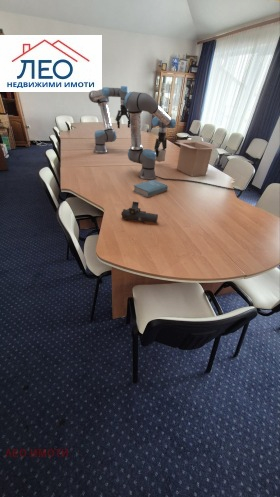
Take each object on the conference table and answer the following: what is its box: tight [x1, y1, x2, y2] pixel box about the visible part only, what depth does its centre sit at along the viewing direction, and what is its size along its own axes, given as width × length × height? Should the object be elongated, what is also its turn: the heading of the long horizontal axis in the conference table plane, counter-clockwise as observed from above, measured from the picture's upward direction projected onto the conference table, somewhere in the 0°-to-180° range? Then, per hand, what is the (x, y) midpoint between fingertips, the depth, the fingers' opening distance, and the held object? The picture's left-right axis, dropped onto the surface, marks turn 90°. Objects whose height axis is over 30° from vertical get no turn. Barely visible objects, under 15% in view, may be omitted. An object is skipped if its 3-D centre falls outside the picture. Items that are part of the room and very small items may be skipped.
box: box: [174, 139, 219, 177], centre depth 219 cm, size 44×36×27 cm
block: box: [154, 147, 167, 163], centre depth 232 cm, size 8×8×11 cm
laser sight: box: [120, 201, 159, 224], centre depth 136 cm, size 10×22×10 cm, turn 78°
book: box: [133, 179, 169, 198], centre depth 177 cm, size 23×16×5 cm
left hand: (123, 128), depth 240 cm, fingers open, 13 cm apart
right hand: (159, 155), depth 232 cm, fingers closed on block, 8 cm apart
